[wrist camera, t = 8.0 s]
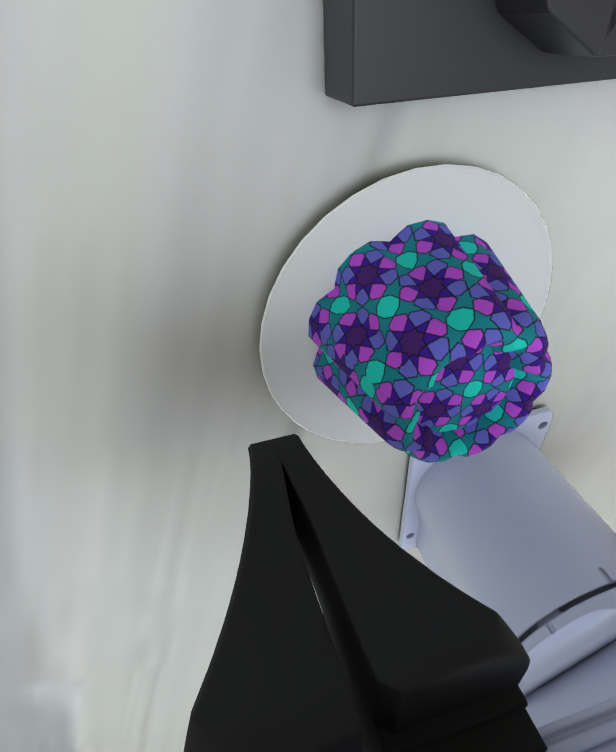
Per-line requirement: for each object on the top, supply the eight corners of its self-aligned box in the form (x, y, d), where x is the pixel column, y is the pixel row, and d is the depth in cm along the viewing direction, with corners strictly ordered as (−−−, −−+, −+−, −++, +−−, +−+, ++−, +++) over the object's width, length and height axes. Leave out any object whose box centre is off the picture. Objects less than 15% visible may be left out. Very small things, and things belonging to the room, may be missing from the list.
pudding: (288, 125, 13) (352, 172, 9) (595, 187, 17) (732, 238, 13) (236, 437, 20) (260, 543, 16) (467, 427, 24) (532, 510, 20)
